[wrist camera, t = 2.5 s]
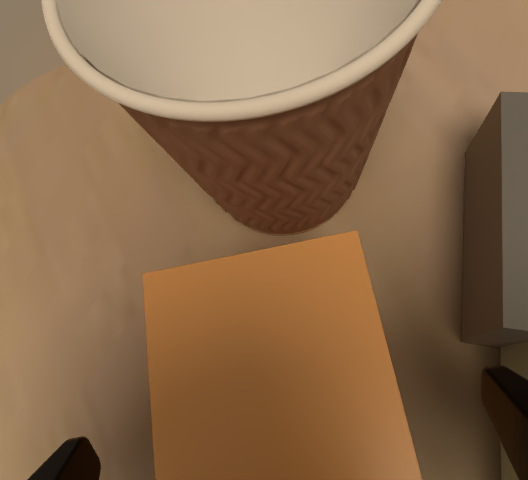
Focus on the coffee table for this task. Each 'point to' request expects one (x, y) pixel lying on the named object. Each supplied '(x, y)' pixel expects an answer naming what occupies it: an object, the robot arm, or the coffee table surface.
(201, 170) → the coffee cup
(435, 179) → the coffee table surface
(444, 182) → the coffee table surface
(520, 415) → the robot arm
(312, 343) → the orange rectangular pillar
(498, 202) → the grey tray
